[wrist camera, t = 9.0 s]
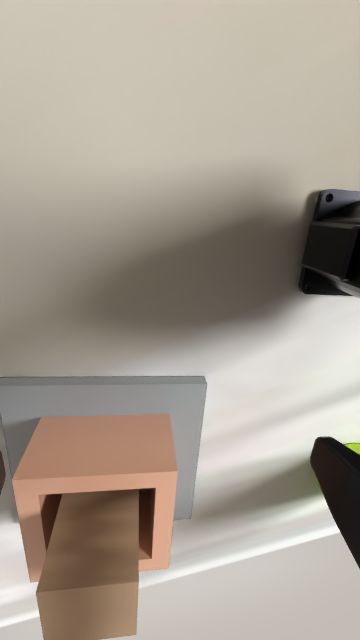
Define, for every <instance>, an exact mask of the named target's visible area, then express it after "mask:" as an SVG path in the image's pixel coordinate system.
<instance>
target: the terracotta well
mask: <svg viewBox="0 0 360 640" xmlns="http://www.w3.org/2000/svg"><path fill="white" fill-rule="evenodd" d="M206 390H207V382H206V379H205V377H204V376H157V377H7V378H1V380H0V414H1V419H2V425H3V430H4V436H5V442H6V447H7V453H8V458H9V464H10V469H11V475H12V484H13V490H14V495H15V501H16V506H17V512H18V517H19V523H20V528H21V534H22V539H23V545H24V550H25V556H26V561H27V567H28V572H29V578H30V582H39V579H40V576H41V572H42V568H43V564H44V561H45V557H46V553H47V549H48V546H49V542H50V538H51V535H52V531H53V527H54V523H55V520H56V516H57V512H58V508H59V505H60V501H61V497H62V494H63V493H77V492H93V491H109V490H126V489H139V571H148V570H158V569H168V568H169V560H170V549H171V539H172V528H173V520H181V519H191V511H192V503H193V495H194V487H195V479H196V471H197V463H198V455H199V447H200V438H201V430H202V422H203V414H204V406H205V398H206Z"/></svg>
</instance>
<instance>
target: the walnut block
mask: <svg viewBox="0 0 360 640" xmlns="http://www.w3.org/2000/svg"><path fill="white" fill-rule="evenodd" d="M138 582H139V489H126V490H109V491H93V492H77V493H63V494H62V497H61V501H60V505H59V508H58V512H57V516H56V520H55V523H54V527H53V531H52V535H51V538H50V542H49V546H48V549H47V553H46V557H45V561H44V564H43V568H42V572H41V576H40V579H39V583H38V587H37V591H36V596H37V602H38V608H39V614H40V619H41V626H42V631H43V638H44V640H100V639H107V638H115V637H122V636H131V635H136V630H137V605H138Z"/></svg>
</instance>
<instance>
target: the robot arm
mask: <svg viewBox="0 0 360 640" xmlns="http://www.w3.org/2000/svg"><path fill="white" fill-rule="evenodd" d="M327 195H329V201H328V202H326V200H325V198H326V196H327ZM302 264H303V268H302V272H301V277H300V281H299V290H300V291H301V292H303V293H304V294H317V295H345V296H356V297H358V298H360V192H358V191H347V190H337V189H327V190H323V191H322V192H321V193H320V194H319V197H318V200H317V205H316V209H315V214H314V218H313V223H312V224H311V225H310V228H309V233H308V237H307V242H306V246H305V251H304V255H303V260H302ZM308 283H309V286H308V288H307V289H305V286H306V284H308ZM310 462H311V466H312V469H313V471H314V473H315V476H316V478H317V481H318V483H319V485H320V488H321V490H322V493H323V495H324V497H325V500H326V502H327V505H328V507H329V509H330V512H331V514H332V516H333V518H334V520H335V522H336V524H337V526H338V528H339V530H340V532H341V534H342V536H343V537H344V539H345V542H346V543H347V545H348V547H349V549H350V551H351V553H352V555H353V557H354V559H355V561H356V563H357V564H358V566H359V568H360V454H358V453H356V452H355V451H353V450H352V449H350V448H348V447H347V446H345V445H343V444H342V443H340V442H339V441H337V440H335V439H334V438H332V437H318V438H317V439H316V440H315V443H314V446H313V449H312V453H311V456H310ZM4 481H5V468H4V462H3V457H2V453H1V451H0V494H1V491H2V488H3V485H4Z"/></svg>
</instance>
